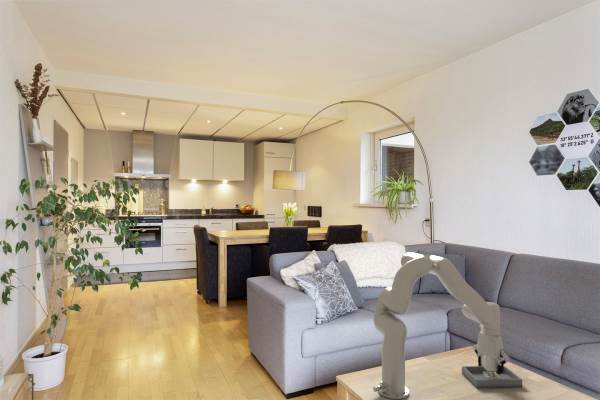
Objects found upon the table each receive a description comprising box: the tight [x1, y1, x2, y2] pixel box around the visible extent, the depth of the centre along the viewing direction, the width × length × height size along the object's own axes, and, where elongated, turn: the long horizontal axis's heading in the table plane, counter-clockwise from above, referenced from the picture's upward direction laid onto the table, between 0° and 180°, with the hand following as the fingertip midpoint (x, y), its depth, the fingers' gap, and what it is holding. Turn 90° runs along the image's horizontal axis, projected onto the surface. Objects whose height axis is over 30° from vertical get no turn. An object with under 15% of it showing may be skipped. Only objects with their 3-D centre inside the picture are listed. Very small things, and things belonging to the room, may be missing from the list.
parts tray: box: [461, 365, 523, 389], centre depth 172 cm, size 20×14×4 cm
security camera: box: [481, 355, 501, 379], centre depth 172 cm, size 6×7×10 cm
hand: (490, 369), depth 172 cm, fingers closed on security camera, 8 cm apart
